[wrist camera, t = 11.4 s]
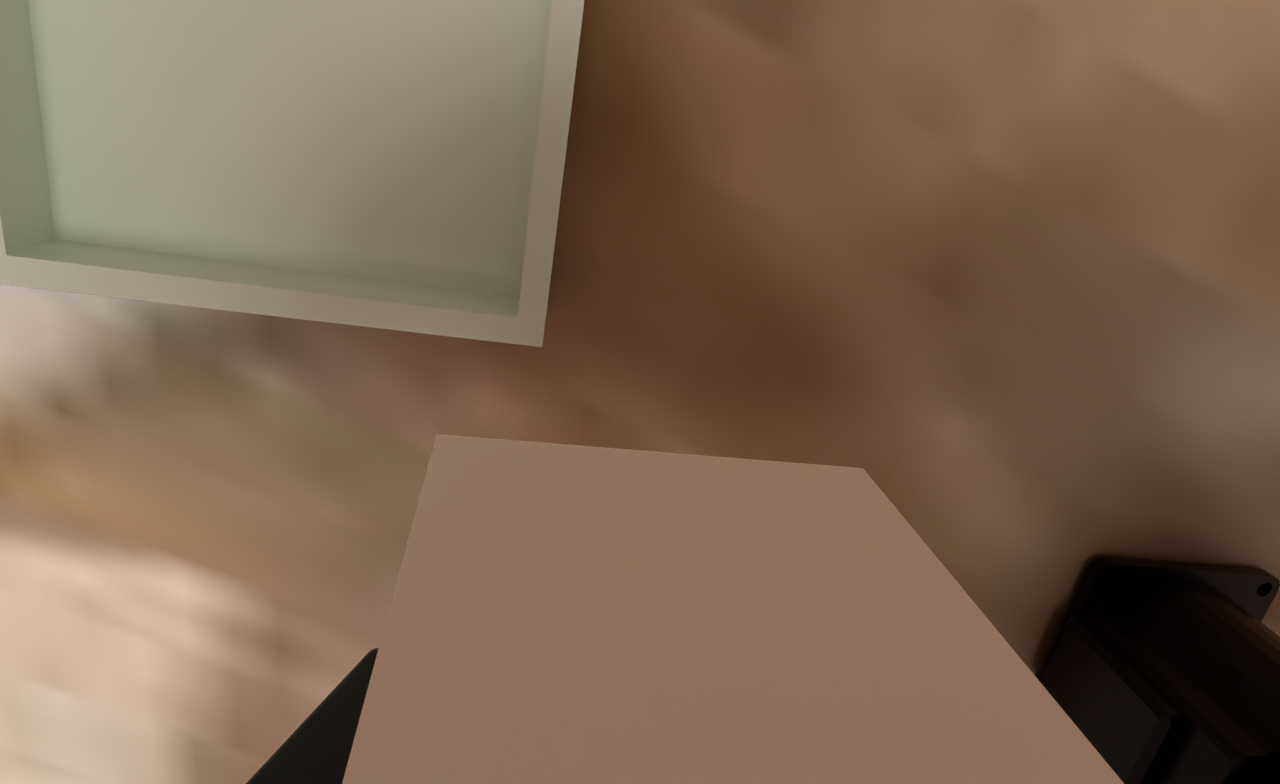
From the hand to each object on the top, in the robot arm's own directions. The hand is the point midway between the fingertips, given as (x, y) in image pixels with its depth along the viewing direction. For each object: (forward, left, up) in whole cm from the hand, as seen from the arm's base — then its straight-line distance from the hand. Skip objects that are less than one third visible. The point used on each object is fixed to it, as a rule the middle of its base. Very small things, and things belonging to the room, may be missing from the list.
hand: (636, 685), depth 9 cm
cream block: (0, 0, -1) cm, 1 cm away
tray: (+7, -6, -11) cm, 15 cm away
